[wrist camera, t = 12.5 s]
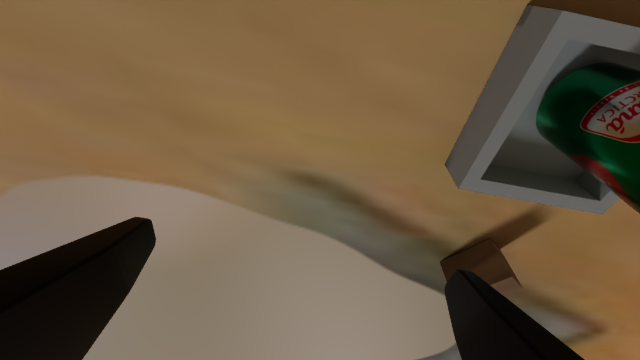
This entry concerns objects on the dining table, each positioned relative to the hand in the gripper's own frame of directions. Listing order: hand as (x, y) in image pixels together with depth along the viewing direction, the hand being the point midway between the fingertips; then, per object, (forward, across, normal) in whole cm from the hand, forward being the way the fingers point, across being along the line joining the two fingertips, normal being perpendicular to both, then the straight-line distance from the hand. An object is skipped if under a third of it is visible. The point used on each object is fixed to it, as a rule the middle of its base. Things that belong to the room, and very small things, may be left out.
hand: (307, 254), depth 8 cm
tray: (+13, +15, +2) cm, 20 cm away
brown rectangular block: (+13, +16, -12) cm, 24 cm away
